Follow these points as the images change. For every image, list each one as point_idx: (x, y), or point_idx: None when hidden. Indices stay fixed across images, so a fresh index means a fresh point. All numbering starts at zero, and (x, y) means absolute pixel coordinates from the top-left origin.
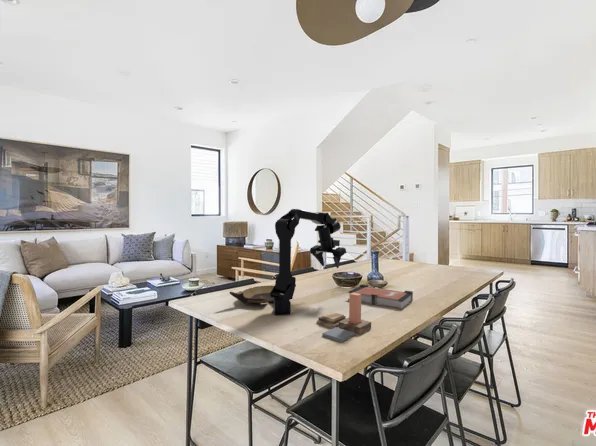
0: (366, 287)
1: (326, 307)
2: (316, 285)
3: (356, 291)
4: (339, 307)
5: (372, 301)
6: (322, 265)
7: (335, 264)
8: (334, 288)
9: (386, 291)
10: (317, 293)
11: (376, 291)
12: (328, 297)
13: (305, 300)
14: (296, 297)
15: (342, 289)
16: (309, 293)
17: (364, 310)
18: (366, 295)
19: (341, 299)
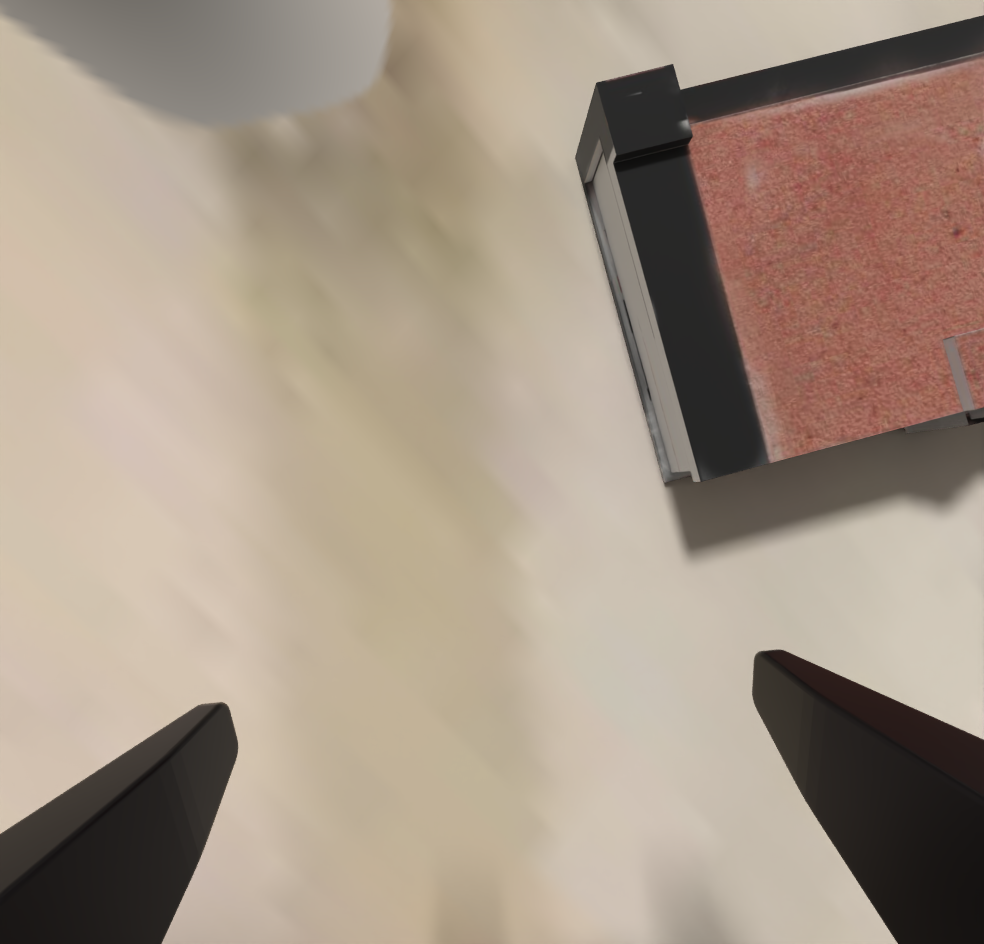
0: (706, 150)
1: (704, 840)
2: (11, 288)
3: (757, 404)
4: None
5: (936, 428)
6: (227, 776)
7: (864, 878)
8: (254, 237)
9: (973, 134)
10: (286, 544)
11: (901, 222)
12: (475, 570)
13: (404, 834)
14: (258, 831)
15: (344, 204)
16: (228, 611)
17: (980, 639)
18: (904, 424)
19: (611, 524)
